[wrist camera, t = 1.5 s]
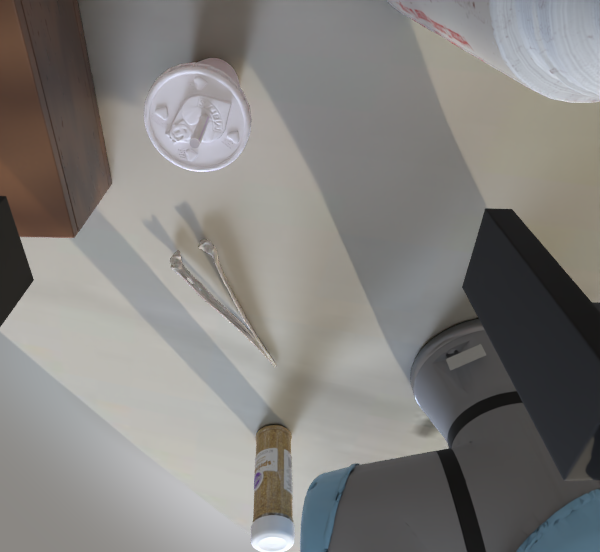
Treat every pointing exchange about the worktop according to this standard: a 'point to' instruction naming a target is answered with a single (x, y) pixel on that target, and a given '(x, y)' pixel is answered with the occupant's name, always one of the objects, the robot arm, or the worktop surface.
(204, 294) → the tweezers
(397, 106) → the worktop surface
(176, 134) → the smoothie
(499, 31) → the thermos bottle
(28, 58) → the wooden panel
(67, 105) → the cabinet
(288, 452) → the sprinkles bottle
